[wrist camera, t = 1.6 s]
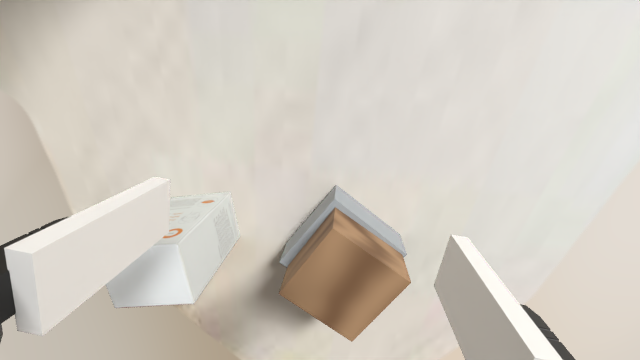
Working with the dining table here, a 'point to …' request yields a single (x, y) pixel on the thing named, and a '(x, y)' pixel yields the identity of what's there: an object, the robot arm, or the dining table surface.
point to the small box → (180, 254)
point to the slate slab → (352, 210)
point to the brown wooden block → (344, 275)
